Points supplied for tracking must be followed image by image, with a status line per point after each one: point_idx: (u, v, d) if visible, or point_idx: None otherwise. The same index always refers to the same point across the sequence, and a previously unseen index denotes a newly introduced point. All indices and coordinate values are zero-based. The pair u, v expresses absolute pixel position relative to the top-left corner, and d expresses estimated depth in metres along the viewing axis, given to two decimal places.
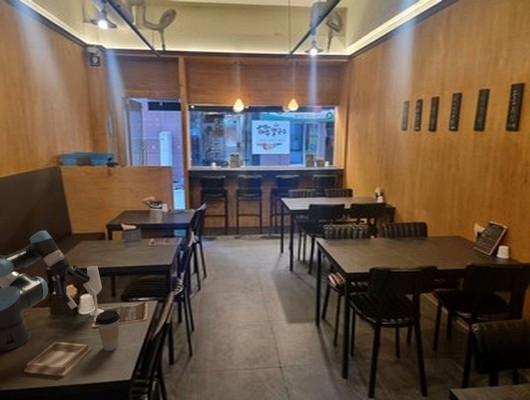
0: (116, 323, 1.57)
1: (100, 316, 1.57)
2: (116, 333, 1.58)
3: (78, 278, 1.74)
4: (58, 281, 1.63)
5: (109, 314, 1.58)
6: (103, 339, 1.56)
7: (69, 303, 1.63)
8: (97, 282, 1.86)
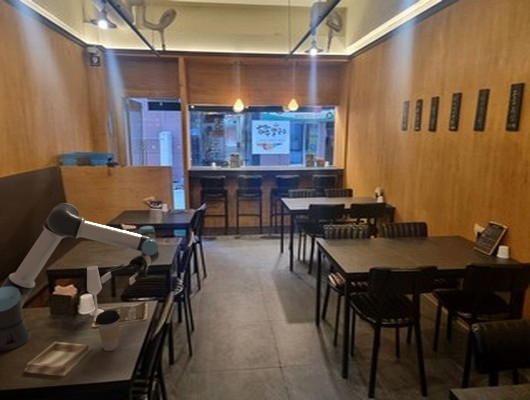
0: (116, 323, 1.57)
1: (100, 316, 1.57)
2: (116, 333, 1.58)
3: (119, 272, 1.75)
4: None
5: (109, 314, 1.58)
6: (103, 339, 1.56)
7: (134, 278, 1.66)
8: (97, 282, 1.86)
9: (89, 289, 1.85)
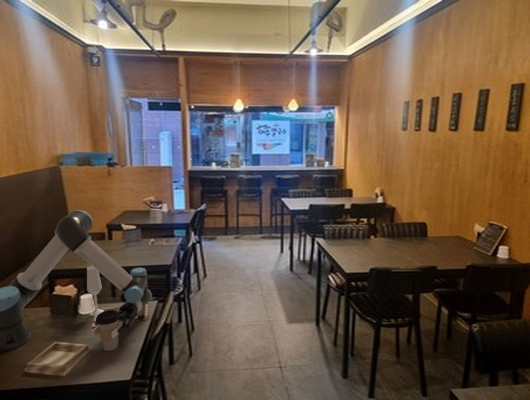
0: (116, 323, 1.57)
1: (100, 316, 1.57)
2: None
3: None
4: None
5: (109, 314, 1.58)
6: (103, 339, 1.56)
7: (116, 331, 1.56)
8: (97, 282, 1.86)
9: (89, 289, 1.85)
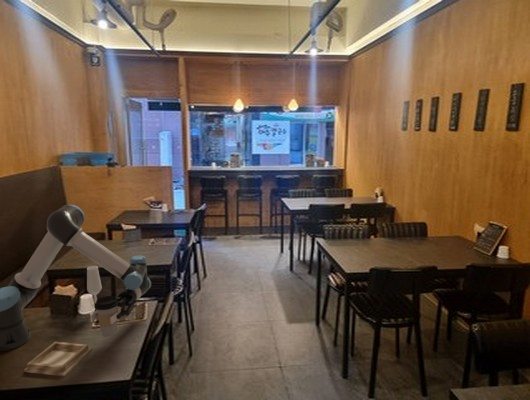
0: (115, 309, 1.56)
1: (99, 301, 1.55)
2: None
3: None
4: None
5: (108, 300, 1.57)
6: (101, 325, 1.55)
7: (115, 316, 1.55)
8: (97, 282, 1.86)
9: (89, 289, 1.85)
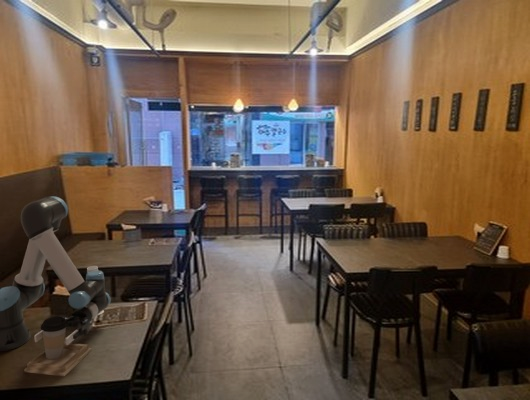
0: (62, 331, 1.50)
1: (46, 322, 1.49)
2: (61, 342, 1.50)
3: None
4: None
5: (56, 321, 1.51)
6: (46, 347, 1.48)
7: (71, 337, 1.48)
8: None
9: None
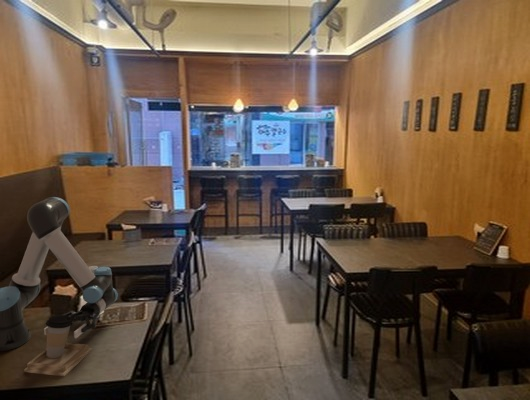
0: (66, 329, 1.51)
1: (52, 319, 1.51)
2: (64, 340, 1.51)
3: None
4: None
5: (61, 318, 1.53)
6: (48, 344, 1.49)
7: (80, 330, 1.52)
8: None
9: None
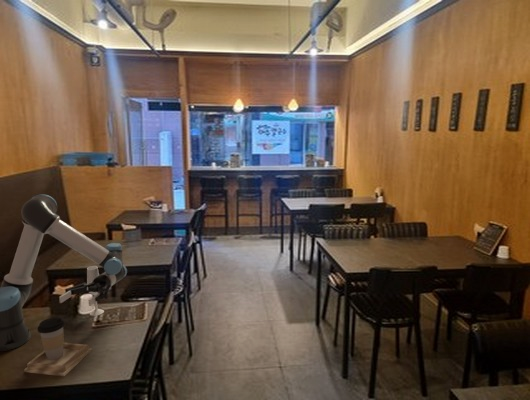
0: (59, 331, 1.49)
1: (42, 324, 1.49)
2: (59, 342, 1.50)
3: (80, 291, 1.69)
4: None
5: (52, 322, 1.50)
6: (45, 348, 1.49)
7: (94, 299, 1.60)
8: None
9: None
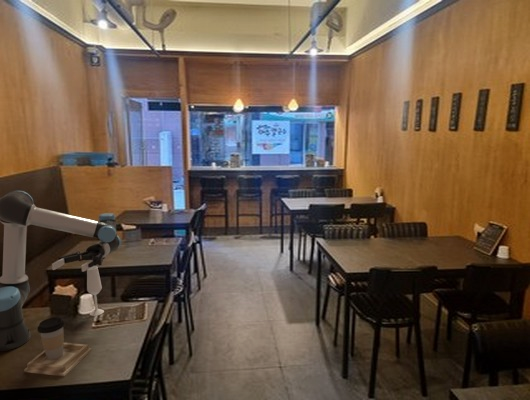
0: (59, 331, 1.49)
1: (42, 324, 1.49)
2: (59, 342, 1.50)
3: (73, 259, 1.67)
4: None
5: (52, 322, 1.50)
6: (45, 348, 1.49)
7: (87, 265, 1.58)
8: (97, 282, 1.86)
9: (89, 289, 1.85)
